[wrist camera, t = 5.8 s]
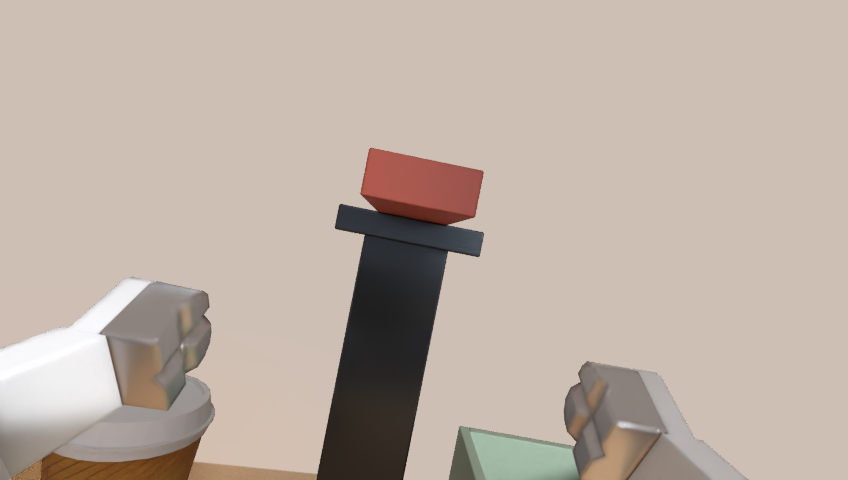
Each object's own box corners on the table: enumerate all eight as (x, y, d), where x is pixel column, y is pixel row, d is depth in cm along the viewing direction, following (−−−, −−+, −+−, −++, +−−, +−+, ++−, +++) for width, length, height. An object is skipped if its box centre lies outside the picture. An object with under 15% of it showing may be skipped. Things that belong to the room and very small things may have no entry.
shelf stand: (407, 567, 34) (472, 238, 34) (409, 773, 21) (514, 238, 21) (279, 546, 33) (345, 212, 33) (199, 743, 20) (307, 197, 20)
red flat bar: (432, 229, 32) (436, 210, 32) (475, 218, 13) (484, 170, 13) (386, 220, 32) (390, 201, 32) (360, 194, 13) (369, 147, 13)
